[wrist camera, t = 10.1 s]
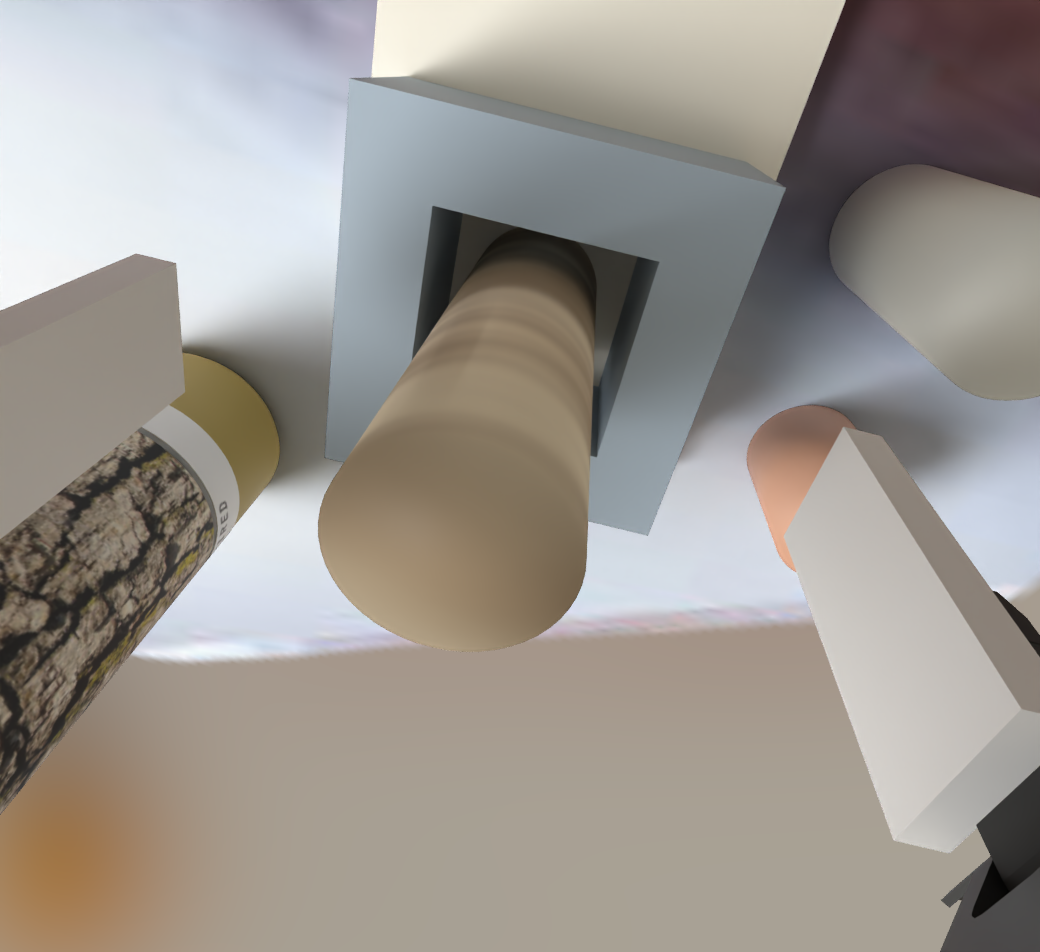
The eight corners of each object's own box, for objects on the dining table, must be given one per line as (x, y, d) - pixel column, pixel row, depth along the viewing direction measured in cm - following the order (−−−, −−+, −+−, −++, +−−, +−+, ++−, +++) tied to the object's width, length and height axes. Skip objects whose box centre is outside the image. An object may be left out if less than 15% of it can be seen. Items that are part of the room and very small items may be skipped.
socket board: (413, -260, 16) (322, -417, 11) (885, -138, 17) (1015, -233, 11) (355, 394, 26) (290, 477, 21) (656, 467, 26) (669, 568, 21)
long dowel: (485, 211, 21) (325, 402, 9) (611, 242, 21) (620, 472, 9) (464, 332, 23) (312, 619, 11) (579, 360, 23) (551, 675, 11)
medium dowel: (866, 149, 20) (1002, 190, 13) (995, 182, 20) (1198, 240, 13) (807, 281, 22) (898, 377, 15) (925, 310, 22) (1067, 418, 15)
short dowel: (772, 393, 24) (808, 463, 20) (879, 419, 24) (938, 494, 20) (730, 484, 26) (754, 565, 22) (829, 508, 26) (872, 593, 22)
